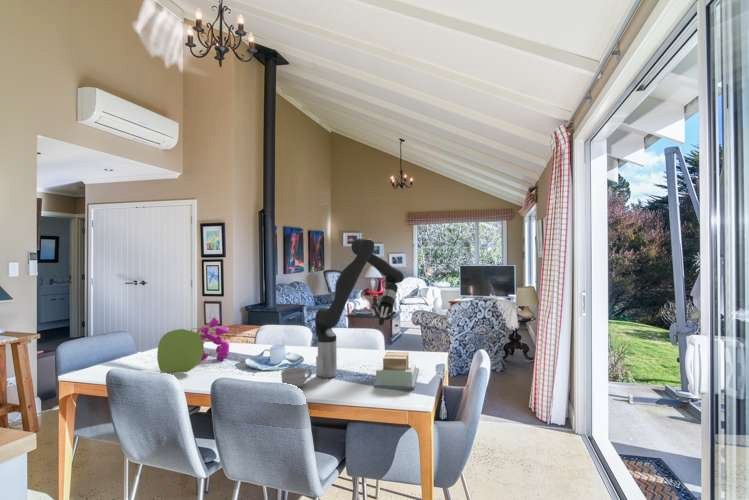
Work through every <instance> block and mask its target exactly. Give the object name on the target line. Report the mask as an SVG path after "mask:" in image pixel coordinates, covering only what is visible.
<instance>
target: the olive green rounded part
mask: <svg viewBox="0 0 749 500" xmlns="http://www.w3.org/2000/svg"><path fill="white" fill-rule="evenodd" d="M219 323H220V321H219V320H218V319H217V318H216V317H213V318H212V319H210V321H209V322H208V324H205V325H202V326H201V327H200V328H196V327H193V328H192V329H191V330H188V329H184V328H183V329H182V328H180V329H173V330H171V331H168V332H166V333H164V335H162V337H160V340H159V341H158V347H157V353H156V354H157V355H156V356H157V357H156V359H157V365H158V368H159V370H160V372H161V373H164V372H166V373H170V374H171V373H176V374H177V373H187V372H191V370H193V369H194V368H195V367H196V366H197V365H198V364H199V363H200V362H201V361H206V360H207V358H208V357H209V356H214V355H215V356H216V355H217V356H216V360H217V361H218V362H219V361H222V360H226V358H227V357H228V356H229V354H230V353H229V352H230V343H229V342H227V341H224V340H222V337H221V335H226V333H228V332H229V331H230V329H229V327H228V326H221V327H217V326H218V325H219ZM215 327H216V328H215ZM193 329H195V330H197V331H196V332H195V331H193ZM210 329H211V330H214V332H215V334H214V333H209V332H210ZM199 332H201V334H199ZM205 339H206V340H205ZM209 342H212V343H213V344H214V345H216V346H217V347H216V348H215V351H216V353H211V352H213V350H214V348H213V349H212V350H210V352H209V353H207V352H205V350H204V348H205V347H204V344H205V343H209Z"/></svg>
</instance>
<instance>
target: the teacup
mask: <svg viewBox="0 0 749 500" xmlns="http://www.w3.org/2000/svg"><path fill="white" fill-rule="evenodd" d="M307 371H308V372H309V373H308V375H307V376H306V374H307ZM280 373H281V384H282V383H287V384H292V385H295V386H297V387H299V388H298V389H300V388H301V387H302V386H303V385H304V384H305V382H306V381H307V380H308V379H309V378H310V377H311V376H312V375H313V374H312V373H313V371H312V369H311V368H310V367H309V368H308V367H307V368H305V367H288V368H284V369H282V370H280Z"/></svg>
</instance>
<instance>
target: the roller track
mask: <svg viewBox="0 0 749 500" xmlns="http://www.w3.org/2000/svg"><path fill="white" fill-rule="evenodd" d="M419 370H420V367H416V364H412V366H411V367H409V370H385V369H383V368H382V369H381V368H379V369H378V368H377V369H376V370H375V373H376V374H375V379H376V380H375V383H374V384H373V388H376V389H395V390H415V388H416V387H415V386H416V384H417V379H418V375H419Z"/></svg>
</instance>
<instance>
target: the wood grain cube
mask: <svg viewBox="0 0 749 500" xmlns="http://www.w3.org/2000/svg"><path fill="white" fill-rule="evenodd" d="M409 368H410V367H409V352H397V351H395V352H393V351H386V352H385V355H384V356H383V358H382V369H385V370H409Z"/></svg>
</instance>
